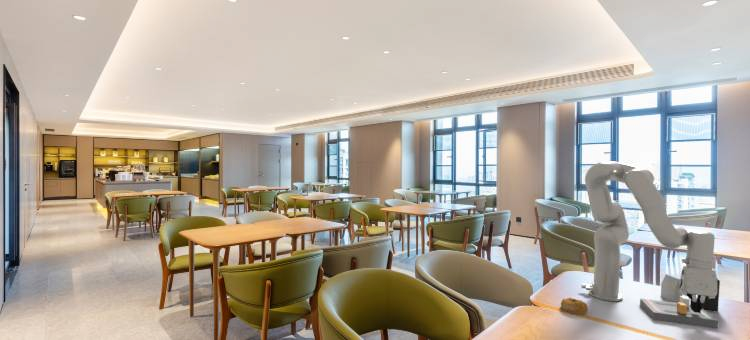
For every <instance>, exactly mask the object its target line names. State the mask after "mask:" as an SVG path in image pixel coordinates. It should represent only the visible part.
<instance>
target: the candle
mask: <svg viewBox="0 0 750 340" xmlns="http://www.w3.org/2000/svg"><path fill="white" fill-rule="evenodd" d="M716 263H717V258H716V256H715V255H714V254H713V269H715V270H716ZM720 285H721V280H719V279H718V278H717V295H716V296H715V298H711V299H707V300H705V301H704V303H702V309H704V310H705V311H706V312H708V311H709V312H715V313H716V312H719V301H720V300H719V299H720V298H719V297H720Z"/></svg>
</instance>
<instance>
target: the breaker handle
mask: <svg viewBox="0 0 750 340" xmlns="http://www.w3.org/2000/svg"><path fill="white" fill-rule="evenodd" d="M676 303H677V311H678V312H679V313H680V314H687V305H686V304H684V303H682V302H676Z"/></svg>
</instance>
